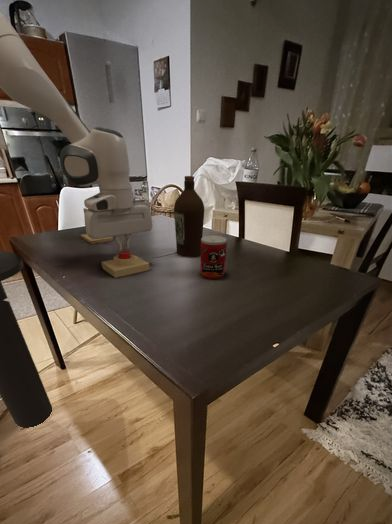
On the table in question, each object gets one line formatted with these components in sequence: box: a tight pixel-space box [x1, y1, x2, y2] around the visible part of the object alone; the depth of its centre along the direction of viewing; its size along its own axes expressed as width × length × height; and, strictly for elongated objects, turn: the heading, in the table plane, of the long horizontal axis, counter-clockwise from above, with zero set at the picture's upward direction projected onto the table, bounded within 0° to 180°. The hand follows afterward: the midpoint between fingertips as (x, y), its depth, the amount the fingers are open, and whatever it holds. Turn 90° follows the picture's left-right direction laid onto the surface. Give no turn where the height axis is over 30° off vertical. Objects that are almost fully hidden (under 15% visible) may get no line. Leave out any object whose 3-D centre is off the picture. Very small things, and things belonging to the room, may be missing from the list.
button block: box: [101, 253, 151, 279], centre depth 91 cm, size 12×10×4 cm
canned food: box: [199, 235, 228, 280], centre depth 86 cm, size 8×8×11 cm
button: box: [117, 250, 131, 259], centre depth 89 cm, size 4×4×2 cm
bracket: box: [80, 207, 114, 245], centre depth 117 cm, size 12×9×12 cm
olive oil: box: [173, 175, 205, 258], centre depth 100 cm, size 11×11×25 cm
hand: (123, 249), depth 88 cm, fingers closed
